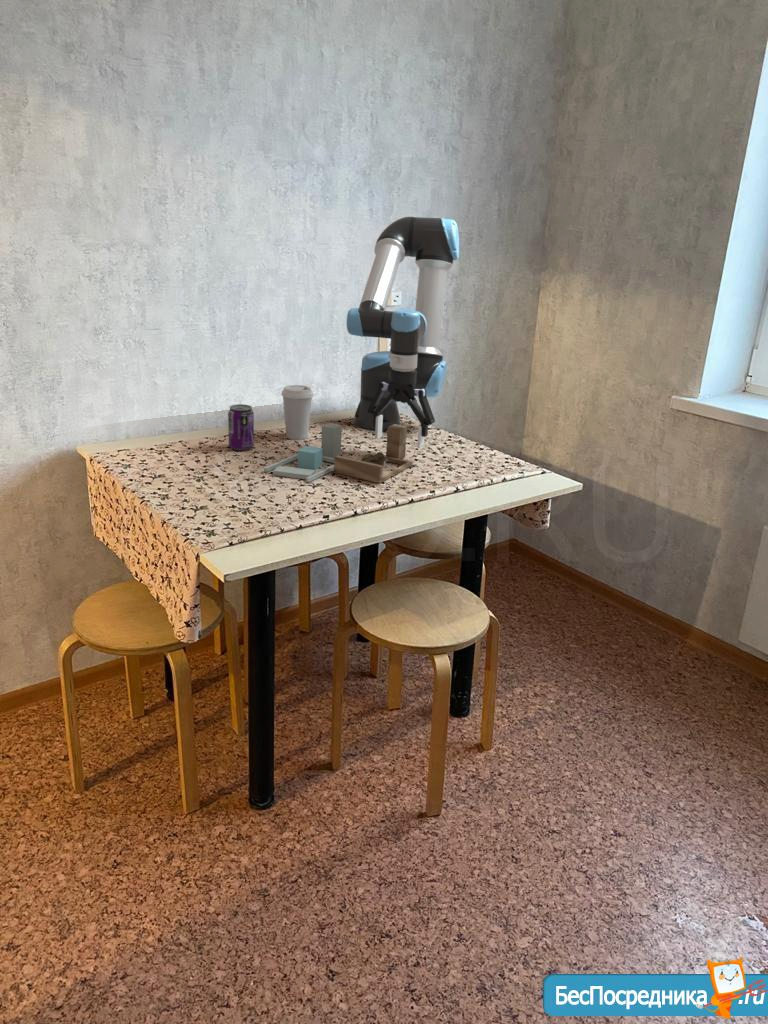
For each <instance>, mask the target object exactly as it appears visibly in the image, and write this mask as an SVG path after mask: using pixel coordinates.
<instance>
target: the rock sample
mask: <svg viewBox="0 0 768 1024" xmlns="http://www.w3.org/2000/svg"><path fill="white" fill-rule="evenodd" d="M374 454H375V455H370V456H367V457H365V458H362V459H360V461H364V462H369V463H373V464H378V465H382V466H383V467H384V466H385V464H386V462H389V461H388V460H387V459H386V457H385V456H386V454H385V453H383V451H381V450H380V451H378V452H376V453H374Z"/></svg>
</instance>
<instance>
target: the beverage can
mask: <svg viewBox="0 0 768 1024" xmlns="http://www.w3.org/2000/svg"><path fill="white" fill-rule="evenodd" d="M254 416H255V415H254V412H253V407H252V406H251V405H249V404H241V403H240V404H238V403H237V404H232V405H230V406H229V411H228V414H227V425H228V446H229V447H230V448H231V449H233V450H234V451H235V450H236V451H247V450H250V449H252V448H254V447H255V428H254V427H255V426H254V425H255V421H254V420H255V419H254V418H255V417H254Z"/></svg>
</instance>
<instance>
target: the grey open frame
mask: <svg viewBox="0 0 768 1024" xmlns="http://www.w3.org/2000/svg"><path fill="white" fill-rule="evenodd" d="M342 427H343V426H342V424H338V423H333V422H328V423H326V424H322V425H321V447H320V448H323V450H322V462H324V461H325V462H327V463H332V465H330V466H328V467H326V468H324V469H322V470H320V471H317V472H315V474H313V475H311V476H309V477H307V478H306V479H305V482H306V483H309V482H312V481H314V480H315V479H318V478H320V477H322V476H324V475H327V474H328V473H331V472H334V456H336V455H337V456H342V435H343V434H342V433H343V432H342V430H343V429H342ZM296 460H298V453H296V454H294V455H291V456H289V457H287V458H284V459H282V460H279V461H277V462H275V463H272V464H270V465H268V466H264V467H263V471H264V472H265V473H267V472H270V471H273V470H275V469H276V468H277V467H278V466H284V465H286V464H288V463H291V462H293V461H296Z"/></svg>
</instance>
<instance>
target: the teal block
mask: <svg viewBox="0 0 768 1024" xmlns="http://www.w3.org/2000/svg"><path fill="white" fill-rule="evenodd" d="M322 450H323V448H321V447H316V446H310V445H304V446H303V447H301V448H300V449H298V450H297V454H298V459H297V468H302V469H309V470H315V471H316V470H318V469H320V468H321V467H322V466H323V460H322Z"/></svg>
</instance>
